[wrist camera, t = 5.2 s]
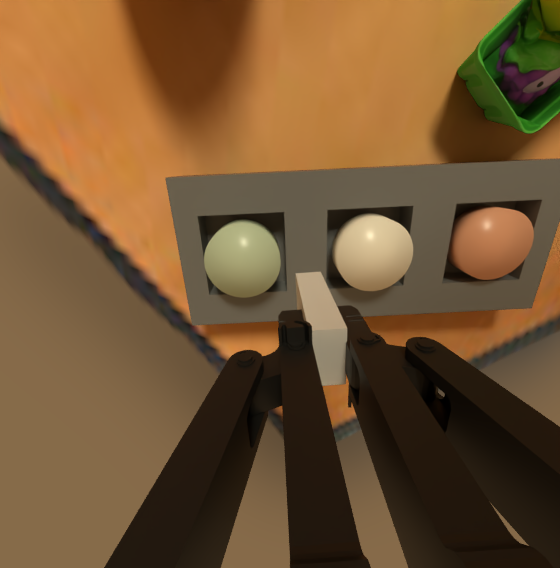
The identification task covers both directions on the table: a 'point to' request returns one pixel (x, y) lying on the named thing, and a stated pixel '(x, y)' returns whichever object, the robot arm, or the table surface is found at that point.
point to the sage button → (243, 258)
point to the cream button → (372, 251)
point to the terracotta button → (490, 241)
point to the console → (354, 201)
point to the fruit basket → (518, 67)
